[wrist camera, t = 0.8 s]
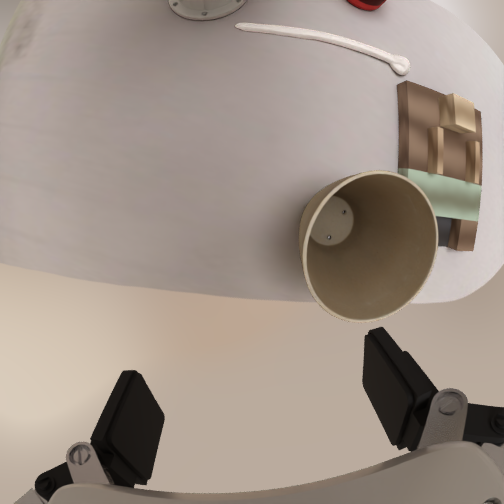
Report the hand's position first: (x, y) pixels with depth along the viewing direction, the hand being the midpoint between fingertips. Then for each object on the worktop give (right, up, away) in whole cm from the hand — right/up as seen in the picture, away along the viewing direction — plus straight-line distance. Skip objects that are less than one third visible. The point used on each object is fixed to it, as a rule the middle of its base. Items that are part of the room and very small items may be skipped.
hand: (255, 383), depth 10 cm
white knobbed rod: (+11, +36, +22) cm, 44 cm away
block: (+32, +27, +21) cm, 47 cm away
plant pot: (+11, +10, +29) cm, 32 cm away
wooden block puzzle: (+31, +19, +27) cm, 45 cm away
